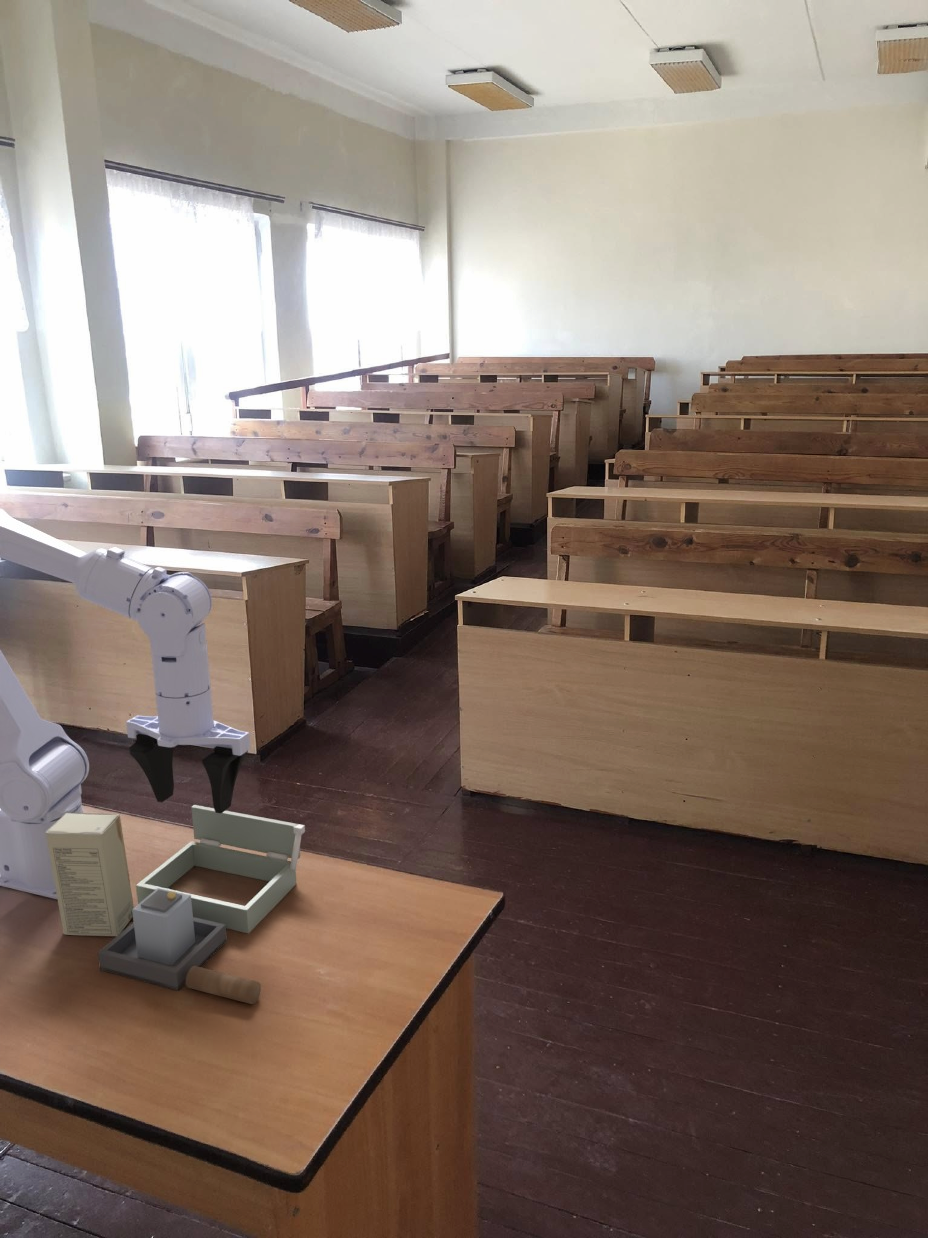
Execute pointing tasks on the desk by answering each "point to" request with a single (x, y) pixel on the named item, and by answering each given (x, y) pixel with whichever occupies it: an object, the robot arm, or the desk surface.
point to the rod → (223, 985)
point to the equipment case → (234, 863)
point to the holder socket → (127, 963)
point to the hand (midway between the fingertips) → (193, 803)
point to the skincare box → (90, 874)
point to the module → (164, 926)
